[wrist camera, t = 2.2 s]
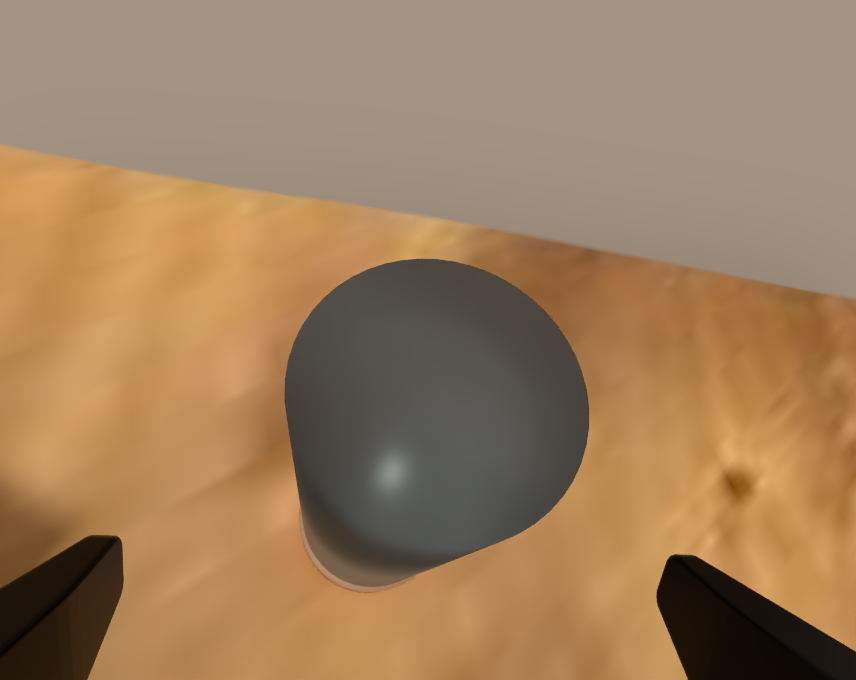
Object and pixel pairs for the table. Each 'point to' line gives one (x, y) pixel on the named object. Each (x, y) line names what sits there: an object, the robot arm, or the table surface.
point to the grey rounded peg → (427, 420)
